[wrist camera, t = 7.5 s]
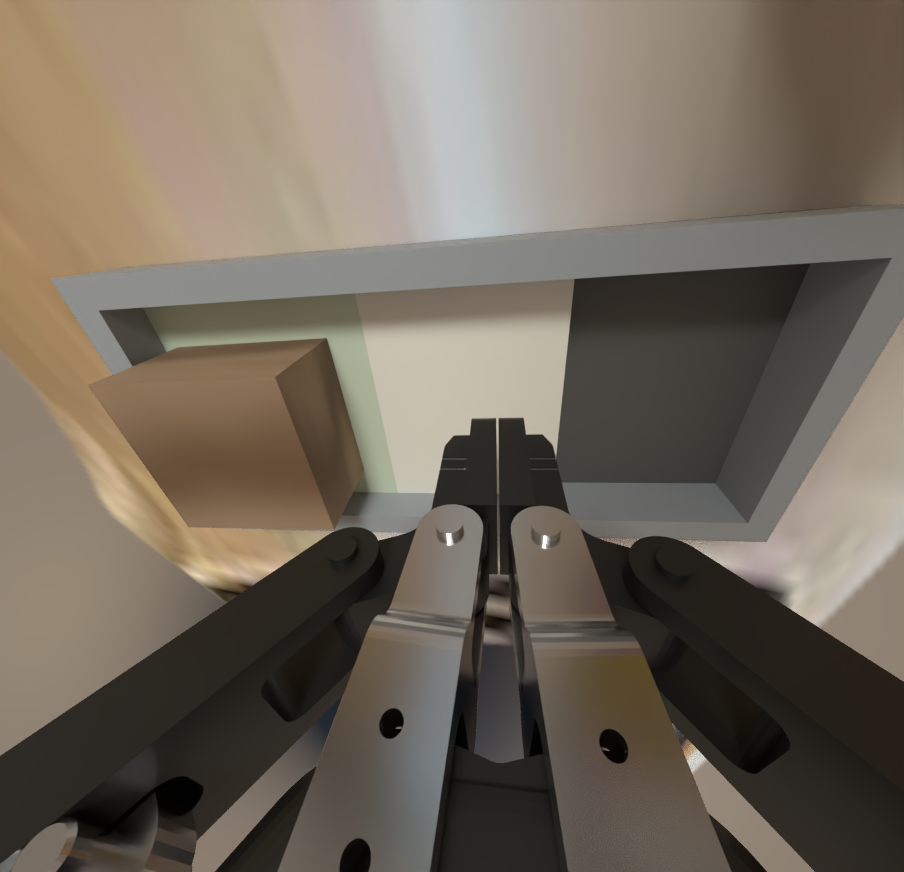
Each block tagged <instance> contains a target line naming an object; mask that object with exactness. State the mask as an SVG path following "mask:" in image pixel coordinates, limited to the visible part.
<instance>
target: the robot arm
mask: <svg viewBox="0 0 904 872" xmlns="http://www.w3.org/2000/svg"><path fill="white" fill-rule="evenodd" d="M498 425H499V517H500V574H505V575H509V592H510V594H509V609H510V618H511V627H512V635H513V644H514V653H515V661H516V670H517V679H518V688H519V697H520V710H521V729H522V741H523V750H524V759H520V760H516V761H512V762H508V763H495V762H492V761H489V760H487V759H485V758H483V757H481V756H479V755H477V754H475V753H474V751H475V740H476V725H477V699H478V687H479V677H480V667H481V657H482V647H483V637H484V627H485V617H486V604H487V599H488V595H489V574H498V566H497V442H496V418H472V419H471V428H470V435H454V436H453V437H452V438H451V439H450V440H449V441H448V443H447V444H446V445H445V447H444V452H443V456H442V461H441V466H440V471H439V475H438V480H437V485H436V490H435V495H434V499H433V504H432V509H431V510H430V511H429V512H428V513H426V514H425V515H424V516H423V517H422V519H421V520H420V522H419V524H418V526H417V528H416V529H414V530H412V531H410V532H408V533H406V534H403V535H399V536H395V537H391V538H387V539H383V540H379V541H378V540H377V538H376V536H375V535H374V534H373V533H372V532H371V531H369V530H367V529H365V528H361V527H348V528H343V529H340V530H337V531H335V532H332V533H331V534H329V535H327V536H326V537H324V538H323V539H321V540H320V541H318V542H317V543H315V544H314V545H312V546H311V547H309V548H308V549H306V550H305V551H303V552H302V553H300V554H299V555H298V556H296V557H295V558H293V559H292V560H290V561H289V562H287V563H286V564H284V565H283V566H281V567H280V568H278V569H277V570H275V571H274V572H272V573H271V574H269V575H268V576H266V577H265V578H263V579H262V580H260V581H259V582H257V583H256V584H255V585H253V586H252V587H250V588H249V589H247V590H246V591H244V592H243V593H241V594H240V595H238V596H237V597H235V598H234V599H232V600H231V601H229V602H228V603H226V604H225V605H223V606H222V607H220V608H219V609H218V610H216V611H215V612H213V613H212V614H210V615H209V616H207V617H206V618H204V619H203V620H201V621H200V622H198V623H197V624H195V625H194V626H192V627H191V628H189V629H188V630H186V631H185V632H183V633H182V634H181V635H179V636H177V637H176V638H175V639H173V640H171V641H170V642H169V643H167V644H166V645H164V646H163V647H161V648H160V649H158V650H157V651H155V652H154V653H152V654H151V655H150V656H148V657H146V658H145V659H143V660H142V661H140V662H139V663H137V664H136V665H134V666H133V667H131V668H130V669H128V670H127V671H126V672H124V673H123V674H121V675H120V676H118V677H117V678H115V679H114V680H112V681H111V682H109V683H108V684H106V685H105V686H103V687H102V688H100V689H99V690H97V691H96V692H94V693H93V694H91V695H90V696H89V697H87V698H86V699H84V700H83V701H81V702H80V703H78V704H77V705H75V706H74V707H72V708H71V709H69V710H68V711H66V712H65V713H63V714H62V715H60V716H59V717H58V718H56V719H54V720H53V721H51V722H50V723H48V724H47V725H45V726H44V727H43V728H41V729H39V730H38V731H37V732H35V733H34V734H32V735H31V736H29V737H28V738H26V739H25V740H23V741H22V742H20V743H19V744H17V745H16V746H14V747H13V748H12V749H10V750H8V751H7V752H5V753H4V754H2V755H1V756H0V872H192V862H193V858H194V855H195V849H196V841H197V840H198V839H199V838H200V837H201V836H202V835H203V834H204V833H205V832H206V831H207V830H208V829H209V828H210V827H211V826H212V825H213V824H214V823H215V822H216V821H217V820H218V819H219V818H220V817H221V816H222V815H223V814H224V813H225V812H226V811H227V810H228V809H229V808H230V807H231V806H232V805H233V804H234V803H235V802H236V801H237V800H238V799H239V798H240V797H241V796H242V795H243V794H244V793H245V792H246V791H247V790H248V789H249V788H250V787H251V786H252V785H253V784H254V783H255V782H256V781H257V780H258V779H259V778H260V777H261V776H262V775H263V774H264V773H265V772H266V771H267V770H268V769H269V768H270V767H271V766H272V765H273V764H274V763H275V762H276V761H277V760H278V759H279V758H280V757H281V756H282V755H283V754H284V753H285V752H286V751H287V750H288V749H289V748H290V747H291V746H292V745H293V744H294V743H295V742H296V741H297V740H298V739H299V738H300V737H301V736H302V735H303V734H304V733H305V732H306V731H307V730H308V729H309V728H310V727H311V726H312V725H313V724H314V723H315V722H316V721H317V720H318V719H319V718H320V717H321V716H322V715H323V714H324V713H325V712H326V711H327V710H328V709H329V708H330V707H331V706H332V705H333V704H334V703H335V702H336V701H337V700H338V699H339V698H340V697H341V696H342V695H343V694H344V695H343V697H342V700H341V703H340V705H339V708H338V711H337V713H336V716H335V719H334V722H333V724H332V727H331V730H330V733H329V735H328V738H327V740H326V743H325V746H324V749H323V751H322V754H321V756H320V759H319V762H318V764H317V766H316V767H315V768H314V769H312V770H311V771H310V772H308V773H307V774H306V775H304V776H303V777H302V778H301V779H300V780H299V781H298V782H297V783H295V784H294V786H292V787H291V788H290V789H289V790H288V791H287V792H286V793H285V794H284V795H283V796H282V797H281V798H280V799H279V800H278V801H277V803H276V804H275V805H274V806H273V807H272V808H271V809H270V811H269V812H268V813H267V814H266V815H265V816H264V817H263V818H262V820H261V821H260V822H259V823H258V824H257V825H256V826H255V827H254V828H253V830H252V831H251V832H250V833H249V834H248V835H247V836H246V837H245V839H244V840H243V841H242V842H241V843H240V844H239V845H238V846H237V848H236V849H235V850H234V851H233V852H232V853H231V854H230V855H229V857H228V858H227V859H226V860H225V861H224V862H223V863H222V865H220V867H219V868H218V869H217V870H216V871H215V872H767V871H766V870H765V869H764V868H763V867H762V866H761V865H760V863H759V862H758V861H757V860H756V859H755V858H754V857H753V856H752V854H751V853H750V852H749V851H748V850H747V849H746V848H745V847H744V846H743V845H742V844H741V843H740V842H739V841H738V840H737V839H736V838H735V837H734V836H733V835H732V834H731V833H730V832H729V831H728V830H727V829H726V828H725V827H723V826H722V825H721V824H720V823H719V822H718V821H717V820H715V819H714V818H713V817H712V816H711V815H709V814H708V812H707V810H706V807H705V805H704V803H703V800H702V797H701V795H700V793H699V790H698V787H697V785H696V782H695V780H694V778H693V775H692V773H691V770H690V768H689V765H688V763H687V760H686V758H685V755H684V753H683V750H682V748H681V745H680V743H679V740H678V738H677V735H676V733H675V730H674V728H673V726H672V723H673V724H674V725H675V726H676V727H677V728H678V729H679V730H680V731H681V733H682V734H683V735H684V736H685V737H686V738H687V739H688V740H689V741H690V742H691V743H692V744H693V745H694V746H695V747H696V748H697V749H698V750H699V751H700V752H701V753H702V754H703V755H704V756H705V758H706V759H707V760H708V761H709V762H710V763H711V764H712V765H713V766H714V767H715V768H716V769H717V770H718V771H719V772H720V773H721V774H722V775H723V776H724V777H725V778H726V779H727V780H728V781H729V783H731V785H732V786H733V787H734V788H735V789H736V790H737V791H738V792H739V793H740V794H741V795H742V796H743V797H744V798H745V799H746V800H747V801H748V802H749V803H750V804H751V805H752V806H753V807H754V809H755V810H756V811H757V812H758V813H759V814H760V815H761V816H762V817H763V818H764V819H765V820H766V821H767V822H768V823H769V824H770V825H771V826H772V827H773V828H774V829H775V830H776V831H777V832H778V834H779V835H780V836H781V837H782V838H783V839H784V840H785V841H786V842H787V843H788V844H789V845H790V846H791V847H792V848H793V849H794V850H795V851H796V852H797V853H798V854H799V855H800V856H801V857H802V858H803V860H805V862H806V863H807V864H808V865H809V866H810V867H811V868H812V869H813V870H814V871H815V872H904V682H903V681H902V680H900V679H898V678H897V677H895V676H894V675H892V674H891V673H889V672H888V671H886V670H884V669H883V668H881V667H879V666H878V665H877V664H875V663H873V662H872V661H870V660H868V659H867V658H866V657H864V656H863V655H861V654H859V653H858V652H856V651H854V650H853V649H852V648H850V647H848V646H847V645H845V644H844V643H842V642H840V641H839V640H837V639H836V638H834V637H833V636H831V635H829V634H828V633H827V632H825V631H823V630H822V629H820V628H819V627H817V626H816V625H814V624H812V623H811V622H809V621H808V620H806V619H805V618H803V617H801V616H800V615H798V614H797V613H795V612H794V611H792V610H791V609H789V608H787V607H786V606H784V605H783V604H781V603H780V602H778V601H776V600H775V599H773V598H772V597H770V596H769V595H767V594H765V593H764V592H762V591H761V590H759V589H758V588H756V587H755V586H753V585H751V584H750V583H748V582H747V581H745V580H744V579H742V578H740V577H739V576H737V575H736V574H734V573H733V572H731V571H729V570H728V569H726V568H725V567H723V566H722V565H720V564H719V563H717V562H715V561H714V560H712V559H711V558H709V557H708V556H706V555H704V554H703V553H701V552H700V551H698V550H697V549H695V548H693V547H692V546H690V545H688V544H686V543H684V542H682V541H679V540H676V539H673V538H669V537H663V536H649V537H644V538H642V539H639V540H638V541H636V542H635V543H634V544H633V545H632V547H631V548H628V547H624V546H621V545H617V544H614V543H610V542H607V541H604V540H601V539H598V538H596V537H594V536H591V535H590V534H588V533H586V532H585V531H584V530H582V529H581V528H580V526H579V524H578V523H577V522H576V520H575V519H574V518H573V517H572V516H570V513H569V510H568V506H567V502H566V498H565V494H564V490H563V485H562V481H561V477H560V473H559V470H558V465H557V461H556V457H555V452H554V448H553V445H552V444H551V443H550V442H549V441H548V440H547V438H546V437H545V436H544V435H543V434H529V435H526V431H525V424H524V418H498ZM671 722H672V723H671Z"/></svg>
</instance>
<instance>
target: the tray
mask: <svg viewBox="0 0 904 872" xmlns="http://www.w3.org/2000/svg"><path fill="white" fill-rule="evenodd" d="M51 281H52V282H53V284H54V285H55V287H56V289H57V290H58V292H59V293H60V295H61V296H62V298H63V299H64V301H65V302H66V304H67V305H68V307H69V309H70V310H71V312H72V313H73V315H74V316H75V318H76V319H77V321H78V322H79V324H80V326H81V327H82V329H83V330H84V332H85V333H86V335H87V336H88V338H89V339H90V341H91V342H92V344H93V346H94V347H95V349H96V350H97V352H98V353H99V355H100V356H101V358H102V359H103V361H104V363H105V364H106V366H107V367H108V369H109V370H110V372H111V373H112V375H114V374H116V373H119V372H121V371H123V370H126V369H128V368H130V367H133V366H135V365H138V364H140V363H142V362H145V361H147V360H149V359H152V358H154V357H156V356H159V355H161V354H163V353H166V352H168V351H170V350H173V349H175V348H177V347H188V346H205V345H221V344H238V343H254V342H271V341H287V340H304V339H320V338H327V341H328V344H329V348H330V351H331V355H332V358H333V362H334V365H335V369H336V372H337V376H338V379H339V383H340V386H341V390H342V393H343V397H344V400H345V404H346V407H347V411H348V414H349V418H350V421H351V425H352V428H353V432H354V435H355V439H356V442H357V446H358V450H359V453H360V457H361V460H362V464H363V467H364V472H363V474H362V476H361V478H360V480H359V482H358V484H357V486H356V488H355V490H354V492H353V494H352V496H351V498H350V500H349V502H348V504H347V506H346V508H345V510H344V512H343V514H342V516H341V518H340V520H339V522H338V524H337V526H336V528H335V530H320V529H280V530H319V531H337V530H340V529H343V528H348V527H361V528H365V529H367V530H369V531H371V532H398V533H408V532H410V531H412V530H414V529H416V528H417V526H418V524H419V522H420V520H421V519H422V517H423V516H424V515H425V514H426V513H428V512H429V511H430V510H431V509H432V504H433V499H434V495H435V490H436V485H437V480H438V475H439V471H440V466H441V461H442V456H443V452H444V447H445V445H446V444H447V443H448V441H449V440H450V439H451V438H452V437H453V436H454V435H470V428H471V419H472V418H496V442H497V535H500V517H499V425H498V418H524V424H525V431H526V435H529V434H543V435H544V436H545V437H546V438H547V440H548V441H549V442H550V443H551V444H552V445H553V448H554V452H555V457H556V461H557V465H558V470H559V473H560V477H561V481H562V485H563V490H564V494H565V498H566V502H567V506H568V510H569V513H570V516H572V517H573V518H574V519H575V520H576V522H577V523H578V524H579V526H580V528H581V529H582V530H584V531H585V532H586V533H588V534H590V535H591V536H594V537H596V538H633V539H642V538H644V537H649V536H663V537H669V538H673V539H676V540H712V541H751V542H766V541H767V540H768V538H769V536H770V535H771V533H772V532H773V530H774V528H775V527H776V525H777V523H778V522H779V520H780V518H781V517H782V515H783V513H784V512H785V510H786V509H787V507H788V505H789V504H790V502H791V500H792V499H793V497H794V495H795V494H796V492H797V491H798V489H799V487H800V486H801V484H802V482H803V481H804V479H805V477H806V476H807V474H808V472H809V471H810V469H811V468H812V466H813V464H814V463H815V461H816V459H817V458H818V456H819V454H820V453H821V451H822V449H823V448H824V446H825V445H826V443H827V441H828V440H829V438H830V436H831V435H832V433H833V431H834V430H835V428H836V426H837V425H838V423H839V422H840V420H841V418H842V417H843V415H844V413H845V412H846V410H847V408H848V407H849V405H850V403H851V402H852V400H853V399H854V397H855V395H856V394H857V392H858V390H859V389H860V387H861V385H862V384H863V382H864V381H865V379H866V377H867V376H868V374H869V372H870V371H871V369H872V367H873V366H874V364H875V362H876V361H877V359H878V358H879V356H880V354H881V353H882V351H883V349H884V348H885V346H886V344H887V343H888V341H889V339H890V338H891V336H892V335H893V333H894V331H895V330H896V328H897V326H898V325H899V323H900V321H901V320H902V318H903V316H904V205H866V206H854V207H842V208H830V209H818V210H806V211H794V212H782V213H770V214H759V215H747V216H735V217H723V218H711V219H699V220H687V221H675V222H663V223H651V224H639V225H628V226H616V227H604V228H592V229H580V230H568V231H556V232H544V233H532V234H520V235H509V236H497V237H485V238H473V239H461V240H449V241H437V242H425V243H413V244H401V245H390V246H378V247H366V248H354V249H342V250H330V251H318V252H306V253H294V254H282V255H270V256H259V257H247V258H235V259H223V260H211V261H199V262H187V263H175V264H163V265H151V266H140V267H128V268H119V269H112V270H106V271H99V272H92V273H85V274H79V275H72V276H65V277H59V278H52V279H51ZM241 529H263V528H241Z"/></svg>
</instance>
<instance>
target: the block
mask: <svg viewBox="0 0 904 872" xmlns="http://www.w3.org/2000/svg"><path fill="white" fill-rule="evenodd" d="M88 386H89V388H90V389H91V391H92V392H93V393H94V395H95V396H96V398H97V399H98V400H99V402H100V403H101V405H102V406H103V408H104V409H105V410H106V412H107V413H108V415H109V416H110V417H111V419H112V420H113V422H114V423H115V424H116V426H117V427H118V429H119V430H120V431H121V433H122V434H123V436H124V437H125V438H126V440H127V441H128V443H129V444H130V445H131V447H132V448H133V450H134V451H135V452H136V454H137V455H138V457H139V458H140V459H141V461H142V462H143V464H144V465H145V467H146V468H147V469H148V471H149V472H150V474H151V475H152V476H153V478H154V479H155V481H156V482H157V483H158V485H159V486H160V488H161V489H162V490H163V492H164V493H165V495H166V496H167V497H168V499H169V500H170V502H171V503H172V504H173V506H174V507H175V509H176V510H177V511H178V513H179V514H180V516H181V517H182V518H183V520H184V521H185V523H186V524H187V526H188V527H206V528H263V529H320V530H335V528H336V526H337V524H338V522H339V520H340V518H341V516H342V514H343V512H344V510H345V508H346V506H347V504H348V502H349V500H350V498H351V496H352V494H353V492H354V490H355V488H356V486H357V484H358V482H359V480H360V478H361V476H362V474H363V472H364V467H363V464H362V460H361V457H360V453H359V450H358V446H357V442H356V439H355V435H354V432H353V428H352V425H351V421H350V418H349V414H348V411H347V407H346V404H345V400H344V397H343V393H342V390H341V386H340V383H339V379H338V376H337V372H336V369H335V365H334V362H333V358H332V355H331V351H330V348H329V344H328V341H327V338H320V339H304V340H287V341H271V342H254V343H238V344H221V345H205V346H188V347H177V348H175V349H173V350H170V351H168V352H166V353H163V354H161V355H159V356H156V357H154V358H152V359H149V360H147V361H145V362H142V363H140V364H138V365H135V366H133V367H130V368H128V369H126V370H123V371H121V372H119V373H116V374H114V375H112V376H109V377H107V378H105V379H102V380H100V381H98V382H95V383H93V384H91V385H88Z"/></svg>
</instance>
